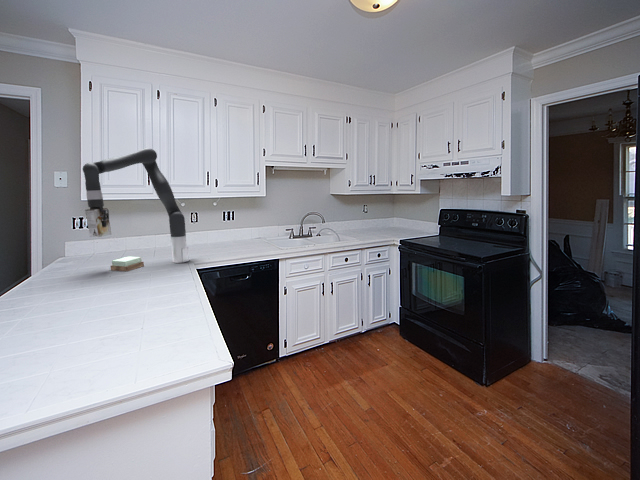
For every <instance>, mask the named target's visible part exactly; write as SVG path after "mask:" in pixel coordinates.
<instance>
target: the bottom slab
mask: <svg viewBox="0 0 640 480" xmlns="http://www.w3.org/2000/svg"><path fill="white" fill-rule="evenodd" d="M144 266H145V263H144V261H142V262H140V263H136V264H133V265H130V266H126V267H125V266H112V264H111V265H110V270H111V271H114V272H115V271H116V272H130V271H134V270H136V269H140V268H141V267H142V268H143V267H144Z"/></svg>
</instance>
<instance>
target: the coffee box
mask: <svg viewBox="0 0 640 480" xmlns="http://www.w3.org/2000/svg"><path fill="white" fill-rule="evenodd" d="M103 209H108V208H107V207H103ZM84 211H85V217H86V221H87V222H86V223H87V228H88V234H89V237H90V238H102V237H106V236H110V235H112V231H111V223H110V218H109V219H108V220H106V224H107V227H102V220H101V217H100V215H101V216H102V215H103V213H100V209H90V208H88V209H85V210H84ZM102 218H104V217H102ZM106 218H107V216H106Z"/></svg>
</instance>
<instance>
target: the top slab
mask: <svg viewBox="0 0 640 480" xmlns="http://www.w3.org/2000/svg"><path fill="white" fill-rule="evenodd" d="M140 262H143V261H142V256H125V257H124V256H123V257H121V258H118V259H114V260H111V263H112V264H111V265H112V266H125V267H126V266H130V265H133V264H136V263H140Z"/></svg>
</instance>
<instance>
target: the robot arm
mask: <svg viewBox="0 0 640 480" xmlns="http://www.w3.org/2000/svg"><path fill="white" fill-rule="evenodd" d="M157 159H158V153H157V151H156V150H154V149H153V148H150V147H145V148H143V149H140V150H138V151H136V152H135V151H134V152H132V153H128V154H124V155H120V156H115V157H110V158H106V159H102V160H99V161H95V162H86V163H85V164H83V167H82V172H83V174H84V178H85V179H84V180H85V191H86V195H85V196H86V199H87V200H86V201H87V206H88V208H89V209H100V213H103V215H102V216H101V215H100V217H101V220H102V227H107V224H106V220H108V219H109V220H110V214H109V213H110V211H109V209H108V208H107V209H103V208H104V206H105V203H104V197H103V193H102V188H101V182H100V174H104V173H108V172H109V173H110V172H113V171H118V170H122V169H125V168H127V167H130V166H135V165H137V164H142V165H143V167H144V169H145V171H146V172H147V175H148V177H149V180H150V182H151V184H152V187H153V189H154V191H155V193H156V195H157V197H158V198H159V201H160V202H161V203H162V204H163V206H164V207H165V210H166V212H167V216H168V221H169V223H168V224H169V234H170V242H171V253H172V254H171V255H172V262H173V263H176V264H177V263H179V264H180V263H181V264H182V263H186V262H189V261H190V254H189V246H187V245H188V243H187V232H186V230H187V229H186V218H185V215H184V213H183V212H182V211H181V209H180V208H179V206H178V203H177V201H176V199H175V195H174V192H173V190H172V188H171V185H170V183H169V182H168V180H167V178H166V177H165V176H164V174H163V173H162V171H161V170H160V168H159V166H158V163H157ZM106 216H107V218H106ZM102 217H104V218H102Z"/></svg>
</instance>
